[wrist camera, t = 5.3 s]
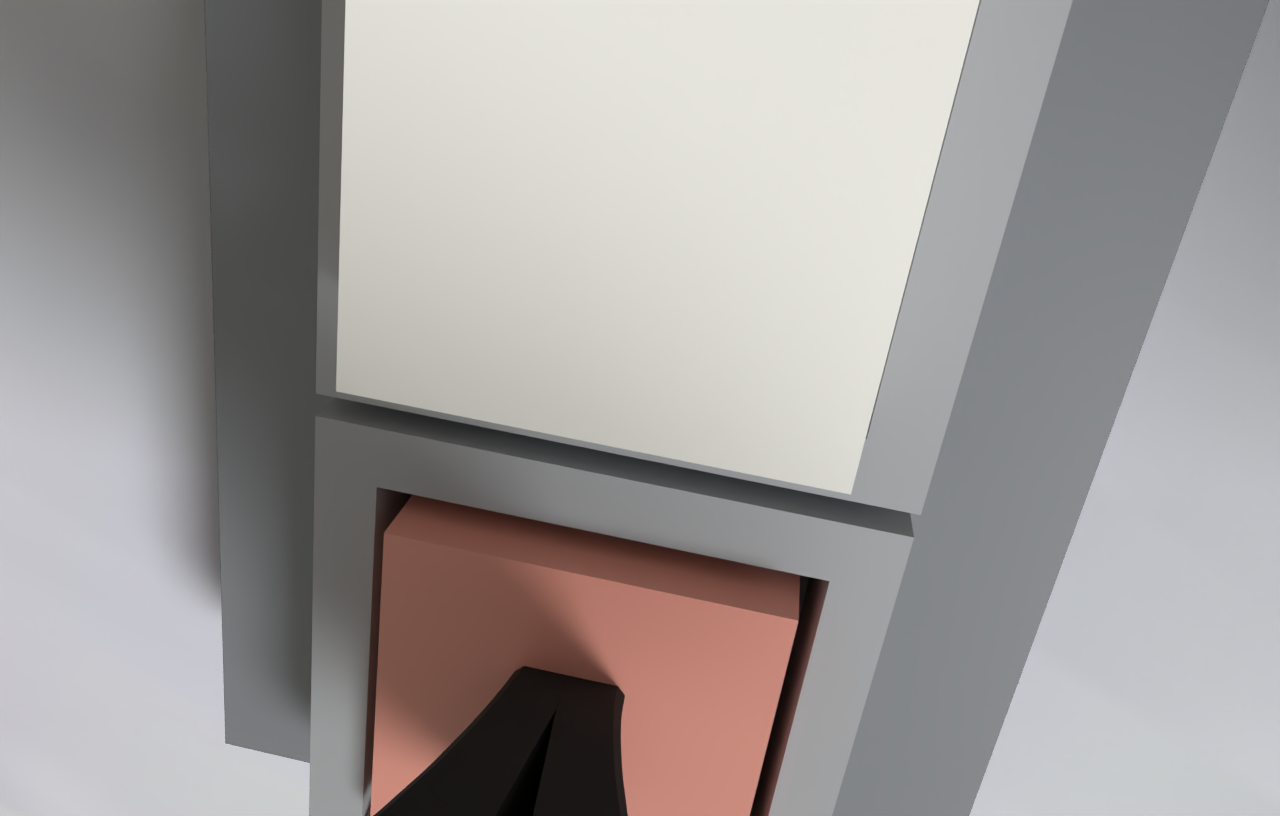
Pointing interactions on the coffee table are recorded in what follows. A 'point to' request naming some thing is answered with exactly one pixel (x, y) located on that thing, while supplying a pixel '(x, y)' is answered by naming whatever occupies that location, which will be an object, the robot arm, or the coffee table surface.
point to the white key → (641, 216)
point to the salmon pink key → (581, 648)
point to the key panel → (713, 497)
